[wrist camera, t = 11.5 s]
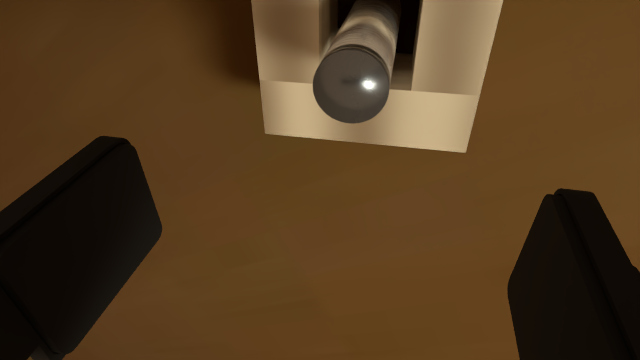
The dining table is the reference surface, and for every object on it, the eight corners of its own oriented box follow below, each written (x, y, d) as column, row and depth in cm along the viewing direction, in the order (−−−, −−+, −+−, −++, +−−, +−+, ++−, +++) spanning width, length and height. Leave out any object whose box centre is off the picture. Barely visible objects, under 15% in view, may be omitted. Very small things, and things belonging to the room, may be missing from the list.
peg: (404, -14, 24) (392, 52, 14) (398, 37, 25) (385, 126, 16) (354, -15, 24) (311, 48, 15) (352, 35, 26) (313, 120, 17)
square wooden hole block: (503, -108, 20) (529, -106, 16) (457, 106, 27) (465, 152, 23) (278, -105, 22) (240, -103, 18) (290, 94, 29) (265, 133, 25)
